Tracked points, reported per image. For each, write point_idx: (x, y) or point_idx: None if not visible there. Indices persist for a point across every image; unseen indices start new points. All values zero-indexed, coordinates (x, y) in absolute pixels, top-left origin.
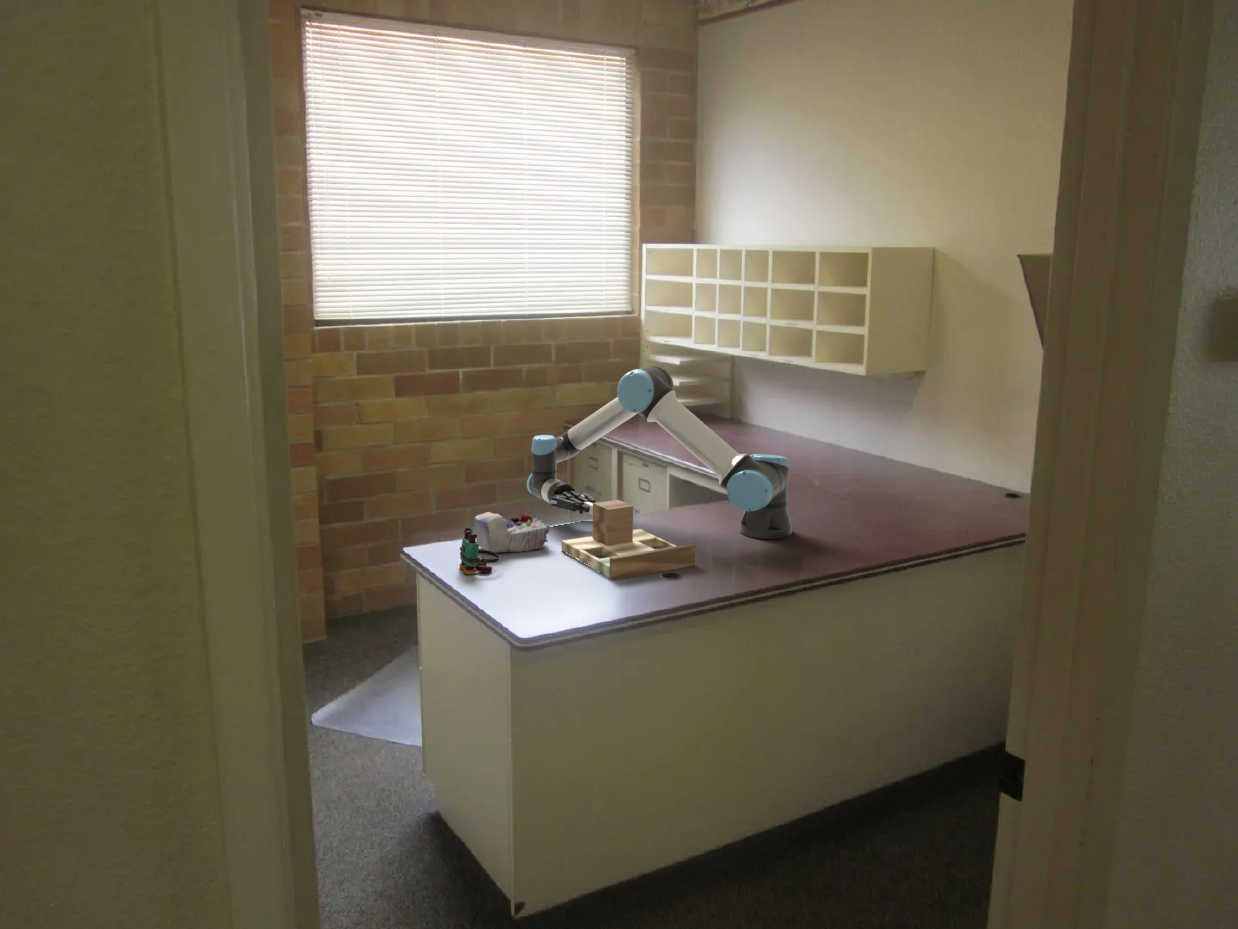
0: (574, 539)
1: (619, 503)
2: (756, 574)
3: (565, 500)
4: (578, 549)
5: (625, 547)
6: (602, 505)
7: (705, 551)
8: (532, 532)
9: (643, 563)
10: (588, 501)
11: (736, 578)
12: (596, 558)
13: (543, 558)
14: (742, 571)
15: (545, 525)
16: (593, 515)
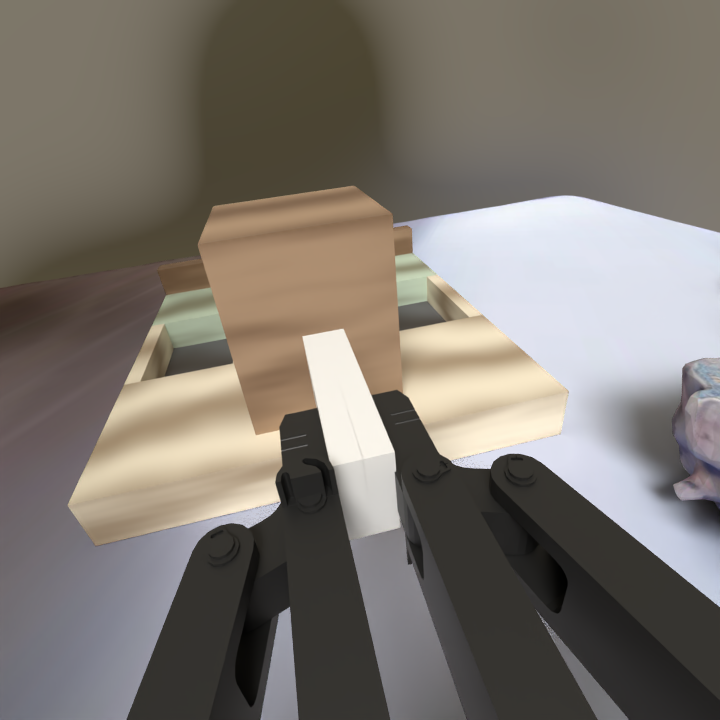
0: (499, 398)
1: (246, 216)
2: (116, 287)
3: (712, 617)
4: (484, 318)
5: None
6: (352, 202)
7: (43, 382)
8: None
9: None
10: (328, 479)
11: None
12: (434, 277)
13: (628, 378)
14: (122, 295)
15: (718, 388)
16: (394, 287)
